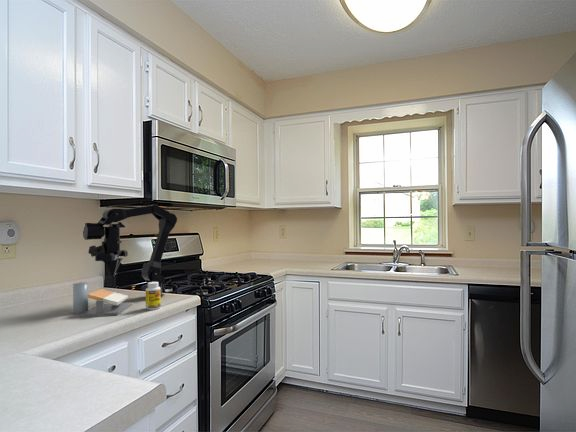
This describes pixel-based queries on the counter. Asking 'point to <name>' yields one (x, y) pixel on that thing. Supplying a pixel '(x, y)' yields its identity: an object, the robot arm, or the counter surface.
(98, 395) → the counter surface
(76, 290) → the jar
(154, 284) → the supplement bottle
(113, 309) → the switch base
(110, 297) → the two-tone square pad
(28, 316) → the counter surface
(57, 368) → the counter surface
